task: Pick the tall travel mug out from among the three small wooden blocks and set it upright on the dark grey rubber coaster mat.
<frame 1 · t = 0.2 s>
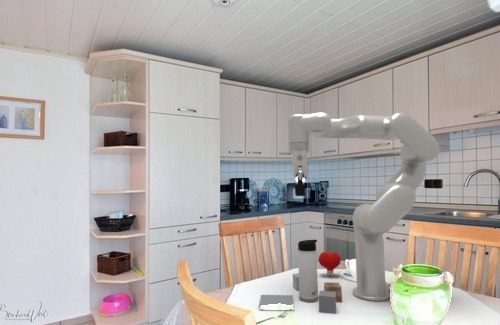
hand: (299, 195, 116), 35 cm above the table, tool pointing down, fingers open, 9 cm apart
walnut block: (333, 299, 108), on the table
coaster mat: (276, 303, 105), on the table
travel mug: (309, 299, 109), on the table
red heart figurine: (330, 276, 135), on the table
sage green block: (301, 288, 120), on the table
charcoal block: (327, 310, 100), on the table
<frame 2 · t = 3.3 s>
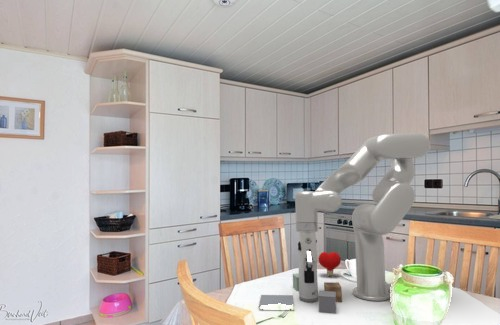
hand: (308, 279, 110), 7 cm above the table, tool pointing down, fingers closed on travel mug, 6 cm apart
travel mug: (309, 299, 109), on the table, touching gripper
everything else where it was.
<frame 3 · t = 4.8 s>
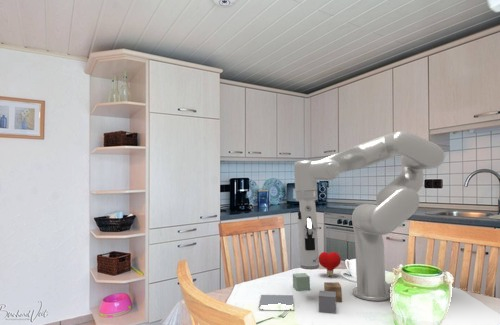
hand: (309, 247, 110), 17 cm above the table, tool pointing down, fingers closed on travel mug, 6 cm apart
travel mug: (310, 267, 110), point 10 cm above the table, touching gripper
everything else where it was.
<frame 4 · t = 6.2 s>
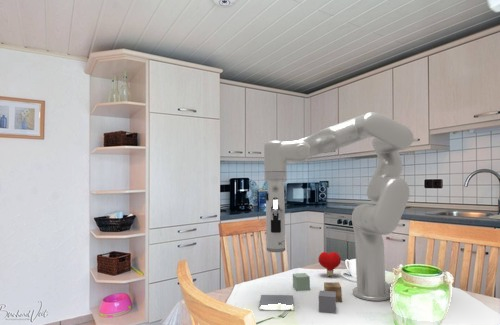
hand: (276, 230, 107), 24 cm above the table, tool pointing down, fingers closed on travel mug, 6 cm apart
travel mug: (276, 251, 107), point 17 cm above the table, touching gripper
everything else where it was.
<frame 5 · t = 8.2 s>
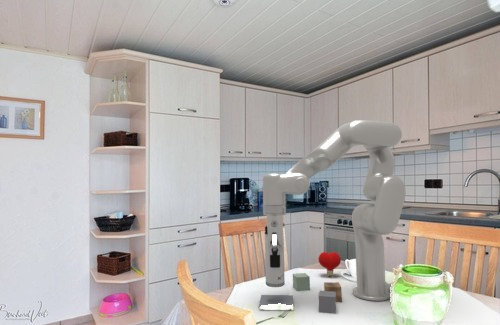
hand: (275, 264, 106), 13 cm above the table, tool pointing down, fingers closed on travel mug, 6 cm apart
travel mug: (275, 285, 106), point 6 cm above the table, touching gripper
everything else where it was.
when the fingers open (9 cm above the table, at t = 9.5 s): travel mug drops 1 cm, resting on coaster mat.
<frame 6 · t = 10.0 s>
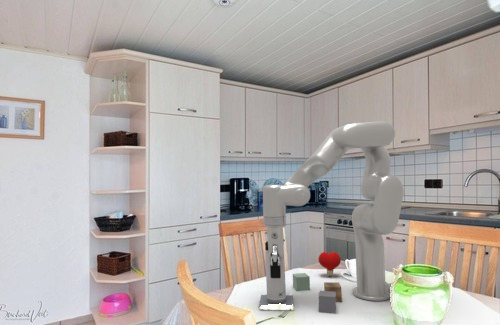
hand: (275, 273, 106), 10 cm above the table, tool pointing down, fingers open, 9 cm apart
travel mug: (277, 301, 105), point 1 cm above the table, touching coaster mat
everything else where it was.
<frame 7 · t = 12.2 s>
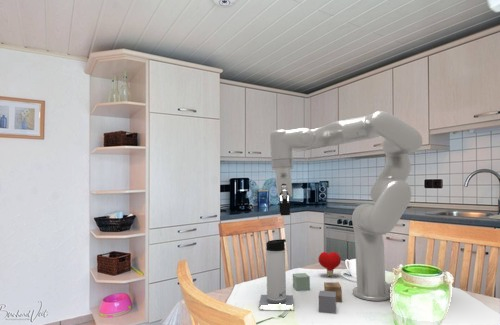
hand: (284, 213, 112), 29 cm above the table, tool pointing down, fingers open, 9 cm apart
nothing on the table moved.
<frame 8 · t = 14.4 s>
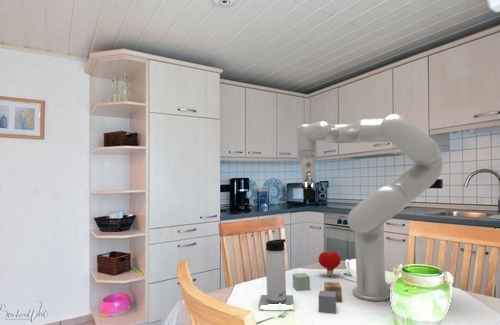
hand: (308, 198, 126), 33 cm above the table, tool pointing down, fingers open, 9 cm apart
nothing on the table moved.
at the end: travel mug 0.2 cm off-centre on the coaster mat, point 0.8 cm above the coaster mat's base; travel mug tilted 0°; the gripper is holding nothing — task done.
